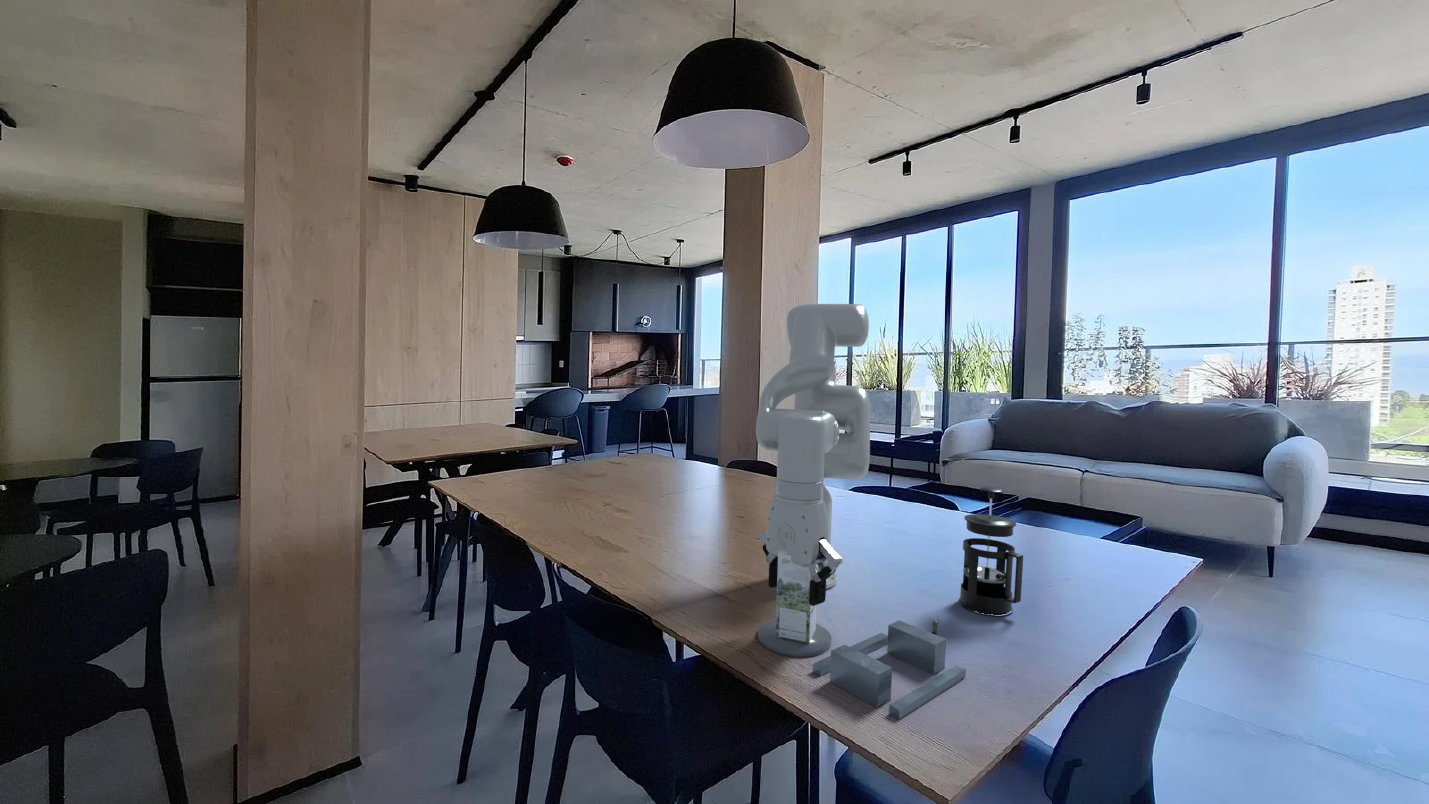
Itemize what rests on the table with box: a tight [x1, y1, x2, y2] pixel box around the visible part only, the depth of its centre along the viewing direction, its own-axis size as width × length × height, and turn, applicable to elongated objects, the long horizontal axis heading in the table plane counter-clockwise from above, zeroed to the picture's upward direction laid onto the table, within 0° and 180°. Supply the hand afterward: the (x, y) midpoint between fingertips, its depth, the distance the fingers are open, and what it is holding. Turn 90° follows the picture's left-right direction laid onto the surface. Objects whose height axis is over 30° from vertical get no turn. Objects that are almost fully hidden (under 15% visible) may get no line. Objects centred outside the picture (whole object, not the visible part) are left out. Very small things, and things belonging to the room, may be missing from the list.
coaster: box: [757, 619, 832, 658], centre depth 95 cm, size 12×12×1 cm
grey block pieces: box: [812, 619, 967, 720], centre depth 86 cm, size 21×14×5 cm
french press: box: [958, 486, 1024, 615], centre depth 110 cm, size 12×9×23 cm
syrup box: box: [775, 550, 818, 644], centre depth 95 cm, size 6×6×14 cm
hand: (795, 594), depth 95 cm, fingers open, 8 cm apart
